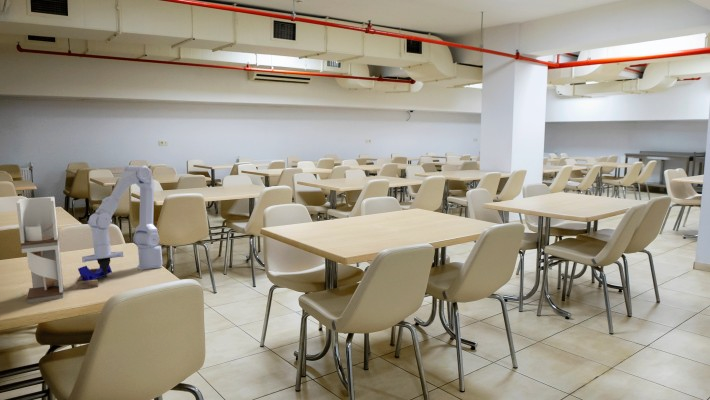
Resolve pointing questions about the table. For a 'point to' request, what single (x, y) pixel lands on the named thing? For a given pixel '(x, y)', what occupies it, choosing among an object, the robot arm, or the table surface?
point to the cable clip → (90, 275)
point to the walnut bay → (87, 283)
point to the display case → (41, 247)
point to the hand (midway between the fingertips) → (105, 276)
